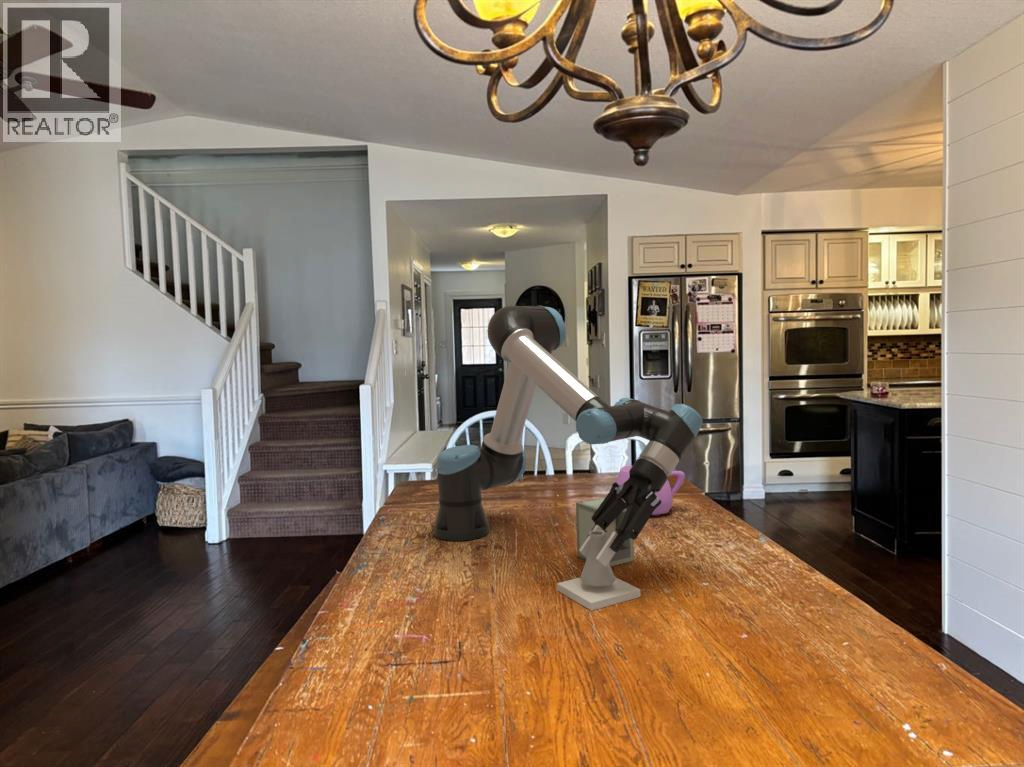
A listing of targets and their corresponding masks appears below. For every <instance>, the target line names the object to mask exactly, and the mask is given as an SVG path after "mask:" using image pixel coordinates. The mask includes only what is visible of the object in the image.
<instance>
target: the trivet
mask: <svg viewBox="0 0 1024 767" xmlns="http://www.w3.org/2000/svg"><path fill="white" fill-rule="evenodd" d="M615 579H616V580H615V581H614V582H613V583H612V584H611V585H607V586H592V585H586V584H583V583H582V581H581V579H580V577H576V578H574V579H569V580H564V581H560V582H557V583H556V588H557V589H556V590H557V592H559V593H561V594H562V595H564V596H566V597H568V598H569V599H571V600H573V601H575V602H576V603H578V604H579V605H581V606H583V607H584V608H586V609H587V610H589V611H596V610H599V609H602V608H606V607H609V606H613V605H617V604H620V603H623V602H627V601H630V600H634V599H637V598H640V597H641V589H640V588H639V587H636V586H634V585H632V584H631V583H628V582H626V581H624V580H622V579H620V578H618V577H616V576H615Z"/></svg>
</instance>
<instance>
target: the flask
mask: <svg viewBox="0 0 1024 767" xmlns="http://www.w3.org/2000/svg"><path fill="white" fill-rule="evenodd" d="M589 535H590V548H589V553H588V556H587V559H586V560H585V563H584V565H583V569H582V570H581V571H582V572H581V575H580V577H579V578H580V579H581V581H582V583H583V584H586V585H592V586H607V585H611V584H612V583H613V582H614V581H615V580H616V579H615V577H616V576H615V574H614V572H613V569H612V566H610V564H609V563H608V565H607V566H606V567H605V566H603V565H602V564H601V563H600V562H599V561H598V560H597V559H596V557H597V556H598V554H599V553H600V551H601V550H602V548H603V547H604V542H603V536H604V535H605V533H604V532H603V531H598V530H595V531H590V532H589Z"/></svg>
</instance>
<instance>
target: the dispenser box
mask: <svg viewBox="0 0 1024 767" xmlns="http://www.w3.org/2000/svg"><path fill="white" fill-rule="evenodd" d="M605 498H606V496H605V497H599V498H595V499H588V500H583V501H576V502H575V512H576V513H575V514H576V520H575V521H576V544H577V545H576V547H577V548H576V550H577V557H579V558H581V559H583V560H584V561H586V559H587V557H585V556H584V555H583V554H582V553H581V552H580V551H579V550H580V548H581V547H582V545H583V544H584V542H585V541H586V539H587V537H588V535H589V532H590V531H591V530H592V529H593V527H594V526H595V523H594V521H593V520H592V519H591V518H592V516H593V515H594V513H595V512H596V510H597V509H598V508H599V506H600V505H601V503H602V502H603V500H604V499H605ZM626 511H627V509H624V510H623V511H622V512H621V513H620V514H619V515H618V517H617V518H616V519H615V520H614V521H613V522H612V523H611V524H610V525H609V526H608V527H607V528H606V529H605V530H606V531H607V532H606V534H605V536H604V537H603V542H604V545H605V544H606V542H607V541H608V539H609V538H610V536H611V535H612V533H613V532H616V533H617V534H618V532H617V531H616V530H615V529H619V527H620V524H621V522H622V520H623V517H624V515H625V513H626ZM603 523H604V522H603ZM632 531H633V532H634V530H632ZM634 541H635V540H633V539H632V538H631V539H628V540H625V542H624V543H623V545H622V546H621V548H620V549H619V551H618V552H616V553H615V554H614V556H613V557H612V559H611V560H610V562H609V564H610V566H611V567H614V566H617V565H621V564H626V563H629V562H634V561H635V546H634Z"/></svg>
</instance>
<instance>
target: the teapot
mask: <svg viewBox="0 0 1024 767" xmlns="http://www.w3.org/2000/svg"><path fill="white" fill-rule="evenodd" d="M637 459H640V458H639V456H638V457H637ZM632 466H633V465H624V466H622V467H621V468H620V470H619V473H618V475H617V478H616V481H615V482H616V483H617V484H618V485H622V484H624V483H625V482H626V481H627V480H628V479H629V477H630V474H629V471H630V469H631V467H632ZM670 476H674V477H676V480H675V484H674V485H673V487H671V485H670V482H669V479H668V478H667V481H666V482H665V484H664V485H663V487H662V488H661V490H660V491H659V492H655V495H656V496H657V497H658V498H659V499H660V500H661V501H662V502H661V504H660V505H659V506H658V507H657V508H656V509H655V510H654V511H653V513H652V514H651V516H653V517H654V516H655V517H659V516H660V515H664V514H667V513H669V511H670V509H671V507H672V506H673V500H674V499H673V496H674V495H675V494H676V493H677V491H678V490H680V489H681V486H682V485H683V484H684V482H685V479H686V474H685V472H684V471H682V470H673V471H672V473H671V474H670ZM670 476H669V477H670ZM622 500H623V499H622ZM623 501H624V500H623ZM624 502H625V501H624ZM625 503H626V502H625Z"/></svg>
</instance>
